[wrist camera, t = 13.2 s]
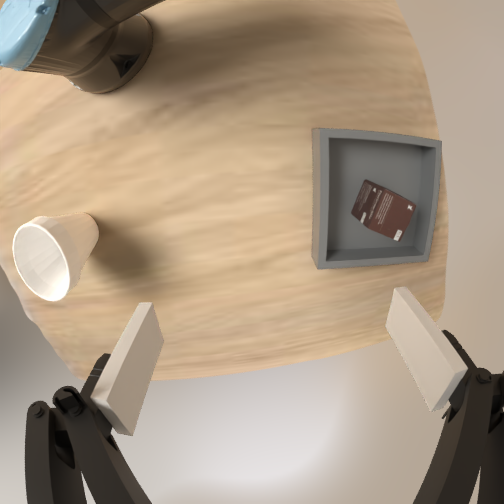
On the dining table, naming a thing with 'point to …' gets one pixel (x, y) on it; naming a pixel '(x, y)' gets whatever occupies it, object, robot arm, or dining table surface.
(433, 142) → the bin
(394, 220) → the box
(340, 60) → the dining table surface
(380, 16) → the dining table surface
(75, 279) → the cup
